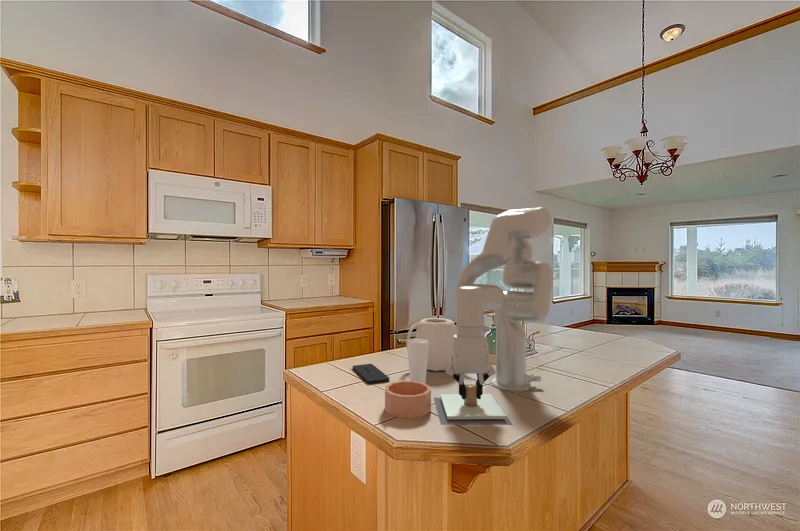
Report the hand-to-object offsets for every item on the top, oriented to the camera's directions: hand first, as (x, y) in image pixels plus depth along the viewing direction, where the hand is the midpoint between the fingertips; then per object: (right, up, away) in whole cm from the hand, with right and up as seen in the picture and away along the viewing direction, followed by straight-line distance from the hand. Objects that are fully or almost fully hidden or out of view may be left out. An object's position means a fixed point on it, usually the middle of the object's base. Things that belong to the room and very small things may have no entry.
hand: (470, 396), depth 99 cm
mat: (0, -4, 0) cm, 4 cm away
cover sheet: (0, -3, 0) cm, 3 cm away
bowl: (-17, -4, 0) cm, 18 cm away
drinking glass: (-14, -4, +21) cm, 25 cm away
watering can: (-4, -4, +42) cm, 42 cm away
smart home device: (-31, -4, +32) cm, 45 cm away
